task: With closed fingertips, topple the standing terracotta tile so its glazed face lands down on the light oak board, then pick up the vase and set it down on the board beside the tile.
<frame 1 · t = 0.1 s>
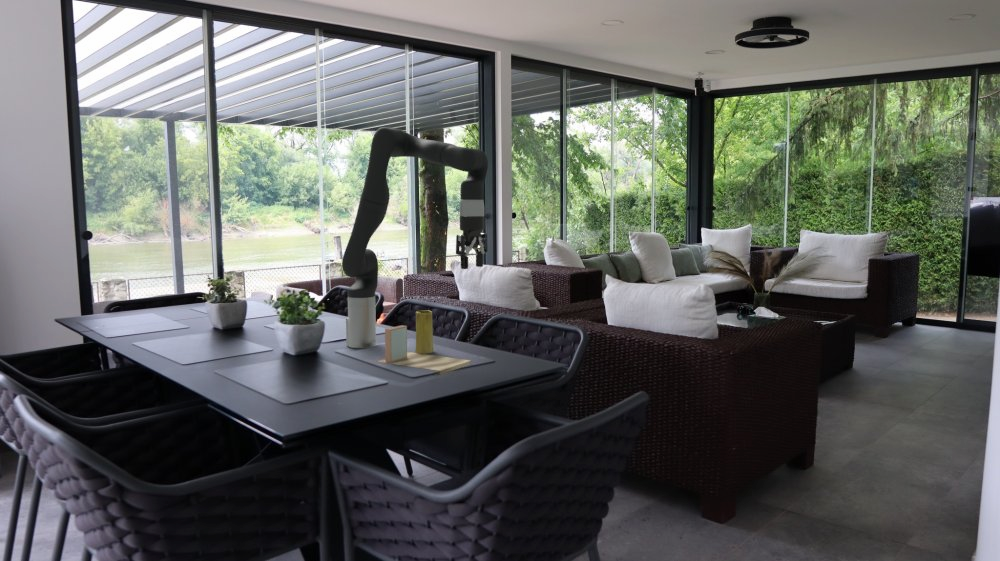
hand: (472, 267, 224), 29 cm above the table, fingers open, 8 cm apart
board: (423, 364, 222), on the table
vase: (424, 355, 235), on the table
tile: (396, 359, 223), point 1 cm above the table, touching board
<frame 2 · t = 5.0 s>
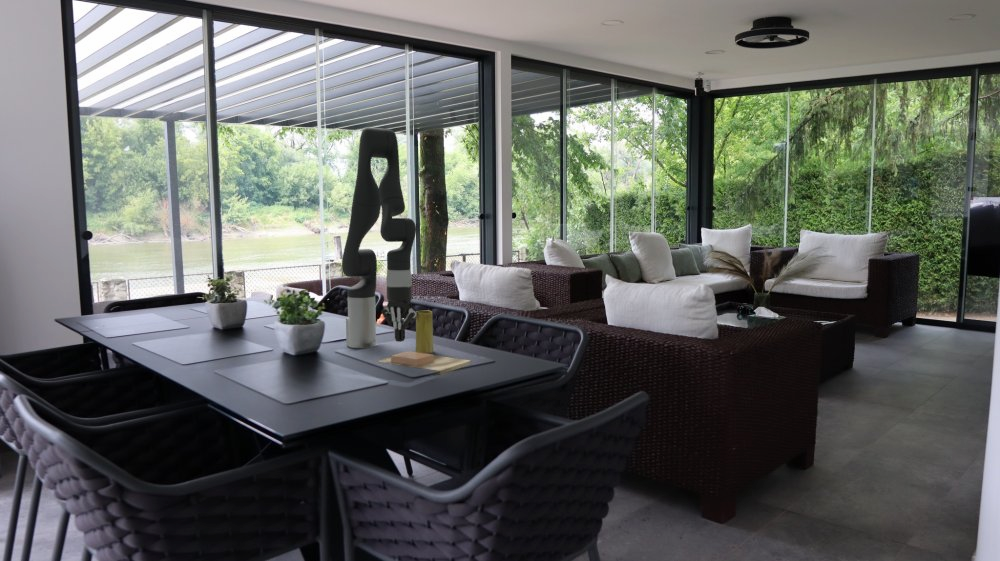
hand: (400, 341, 221), 7 cm above the table, fingers closed
tile: (399, 356, 222), point 2 cm above the table, tilted 90°, touching board
everything else where it was.
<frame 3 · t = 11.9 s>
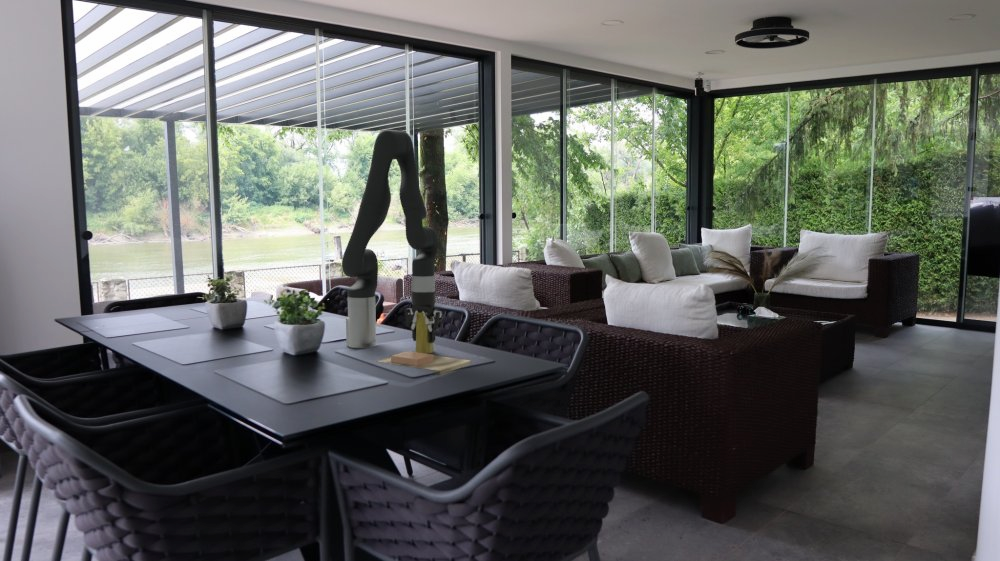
hand: (423, 341, 235), 5 cm above the table, fingers closed on vase, 5 cm apart
vase: (424, 355, 235), on the table, touching gripper
everything else where it was.
when the fingers open (7 cm above the table, at t = 18.0 s): vase drops 1 cm, resting on board.
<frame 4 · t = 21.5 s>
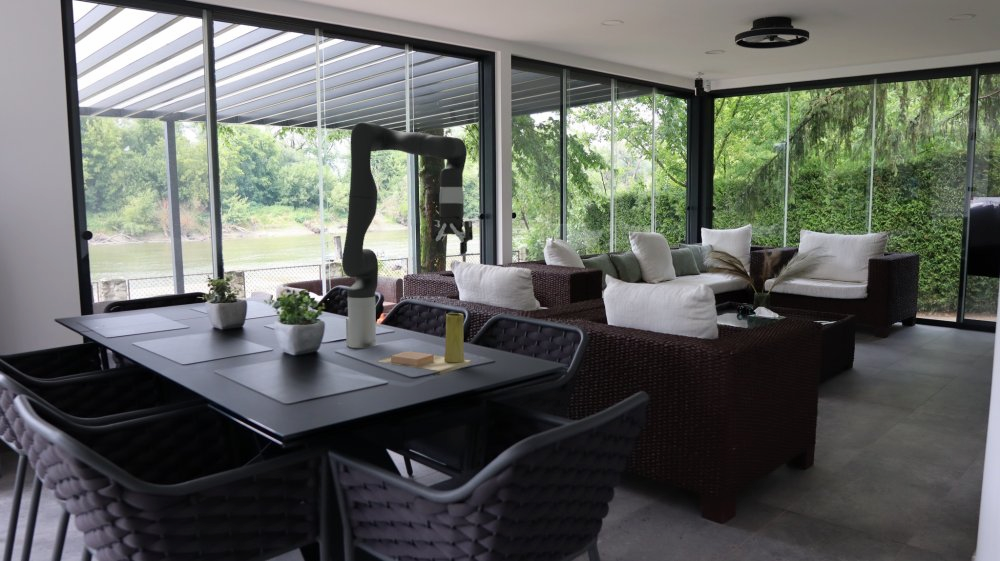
hand: (451, 253, 229), 33 cm above the table, fingers open, 8 cm apart
vase: (454, 361, 221), point 1 cm above the table, touching board
everything else where it was.
at the end: tile tilted 90°; tile inside the target area (8.8 cm from its centre), point 2.3 cm above the table; vase inside the target area (0.7 cm from its centre), point 1.0 cm above the table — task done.
